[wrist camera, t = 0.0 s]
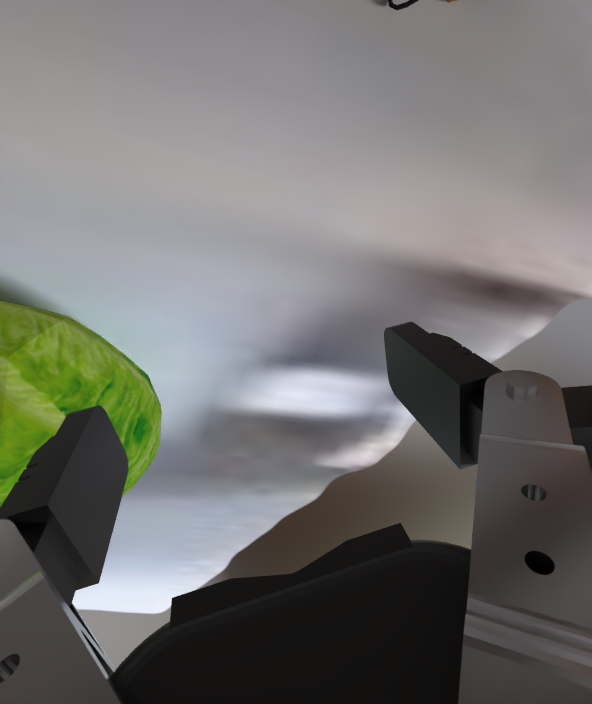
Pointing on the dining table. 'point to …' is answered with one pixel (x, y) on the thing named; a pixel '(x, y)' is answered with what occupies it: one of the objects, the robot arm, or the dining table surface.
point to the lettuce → (67, 389)
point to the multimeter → (406, 4)
